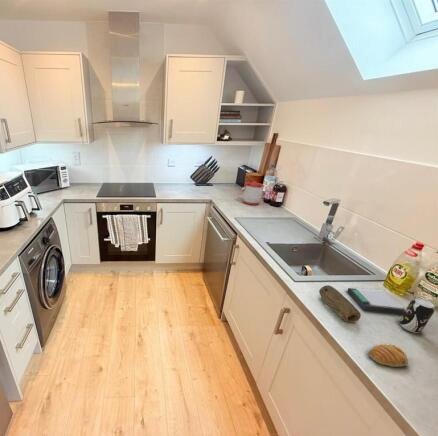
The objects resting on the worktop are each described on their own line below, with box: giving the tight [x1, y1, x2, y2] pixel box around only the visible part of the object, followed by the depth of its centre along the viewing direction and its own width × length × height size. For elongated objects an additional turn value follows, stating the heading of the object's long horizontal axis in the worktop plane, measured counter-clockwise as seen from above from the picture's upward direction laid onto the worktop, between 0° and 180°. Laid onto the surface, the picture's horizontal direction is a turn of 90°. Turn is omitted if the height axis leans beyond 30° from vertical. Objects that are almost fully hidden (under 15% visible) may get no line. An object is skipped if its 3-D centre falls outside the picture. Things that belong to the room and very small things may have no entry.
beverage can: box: [398, 297, 436, 334], centre depth 83 cm, size 6×6×12 cm
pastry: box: [368, 344, 410, 368], centre depth 74 cm, size 9×7×4 cm
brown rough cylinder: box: [318, 284, 362, 323], centre depth 93 cm, size 15×7×7 cm, turn 5°
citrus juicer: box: [241, 180, 265, 206], centre depth 204 cm, size 16×17×20 cm
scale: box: [346, 287, 406, 316], centre depth 97 cm, size 14×11×3 cm
